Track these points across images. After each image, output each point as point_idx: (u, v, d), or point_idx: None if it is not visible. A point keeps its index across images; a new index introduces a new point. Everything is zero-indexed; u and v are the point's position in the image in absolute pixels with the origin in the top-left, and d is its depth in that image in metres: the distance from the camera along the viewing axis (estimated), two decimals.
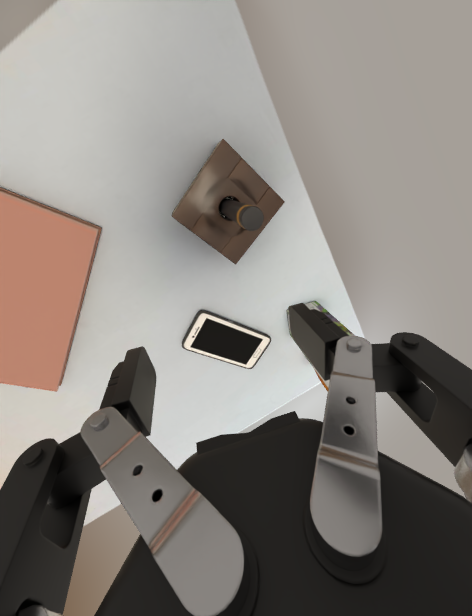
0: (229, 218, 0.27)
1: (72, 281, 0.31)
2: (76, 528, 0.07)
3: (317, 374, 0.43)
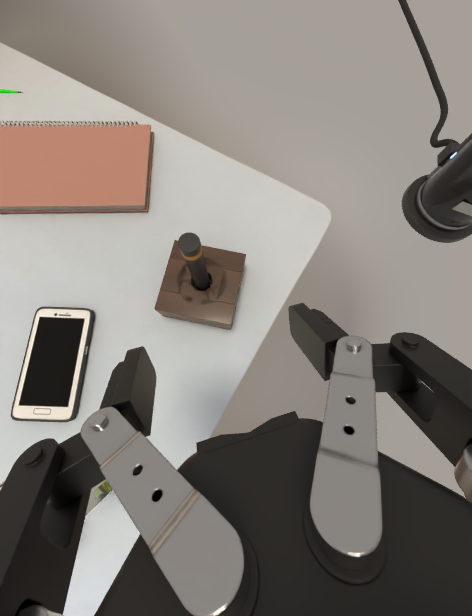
0: None
1: (94, 198, 0.37)
2: (76, 529, 0.07)
3: None
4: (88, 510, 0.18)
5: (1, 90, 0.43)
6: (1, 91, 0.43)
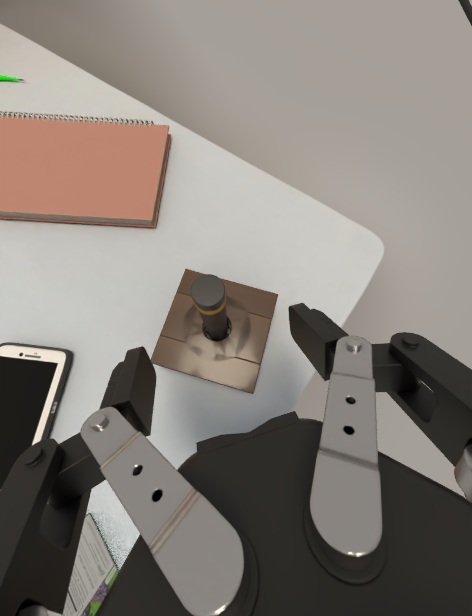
0: None
1: (90, 207, 0.30)
2: (76, 528, 0.07)
3: None
4: None
5: (1, 77, 0.37)
6: (1, 78, 0.38)
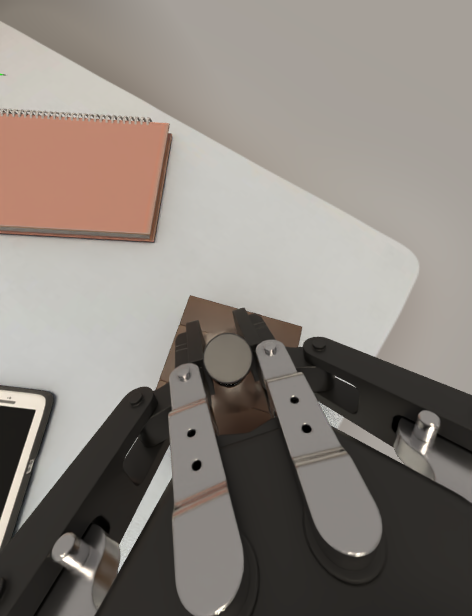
0: None
1: (78, 219, 0.25)
2: (150, 472, 0.08)
3: None
4: None
5: None
6: None
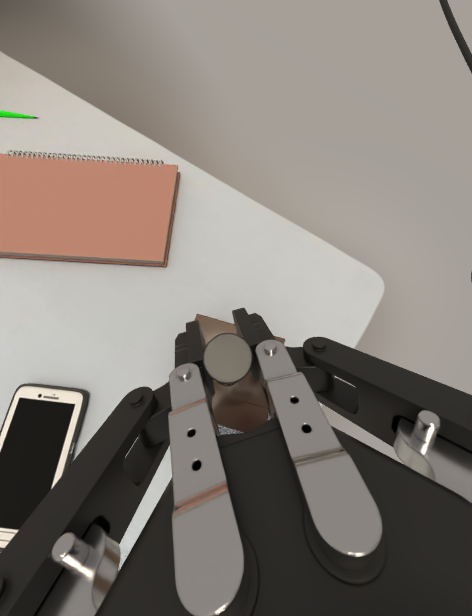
0: None
1: (104, 248, 0.31)
2: (150, 472, 0.08)
3: None
4: None
5: (15, 114, 0.39)
6: (15, 115, 0.39)
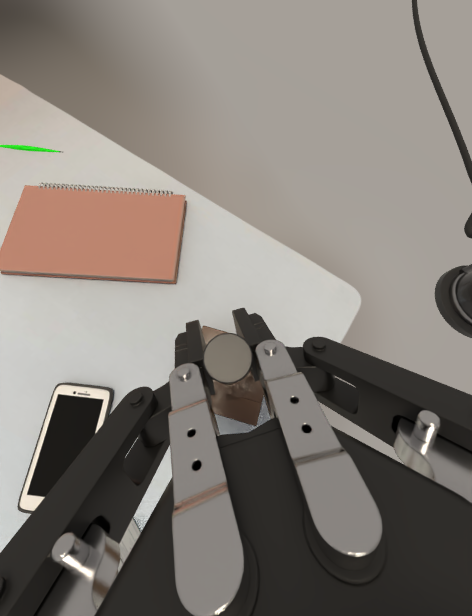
0: None
1: (124, 269, 0.37)
2: (150, 472, 0.08)
3: None
4: None
5: (43, 150, 0.45)
6: (43, 150, 0.45)
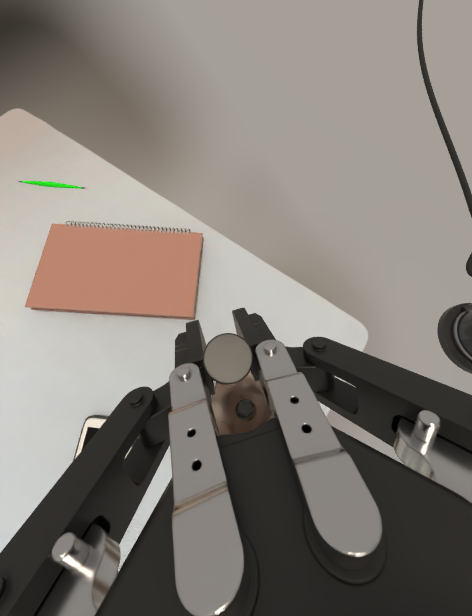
0: None
1: (146, 306, 0.39)
2: (150, 472, 0.08)
3: None
4: None
5: (67, 186, 0.47)
6: (67, 186, 0.47)
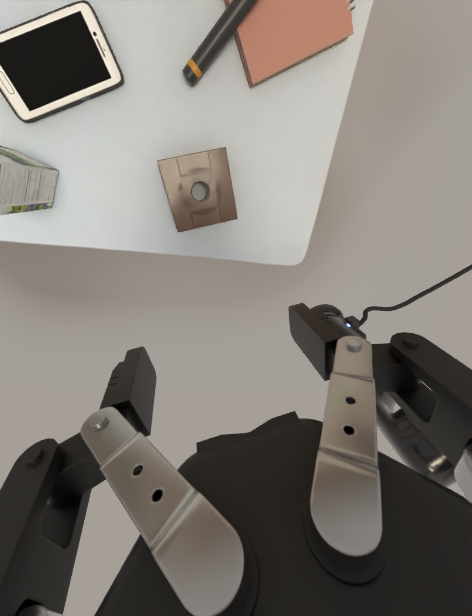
0: (221, 16, 0.29)
1: None
2: (76, 528, 0.07)
3: None
4: None
5: None
6: None
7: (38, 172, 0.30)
